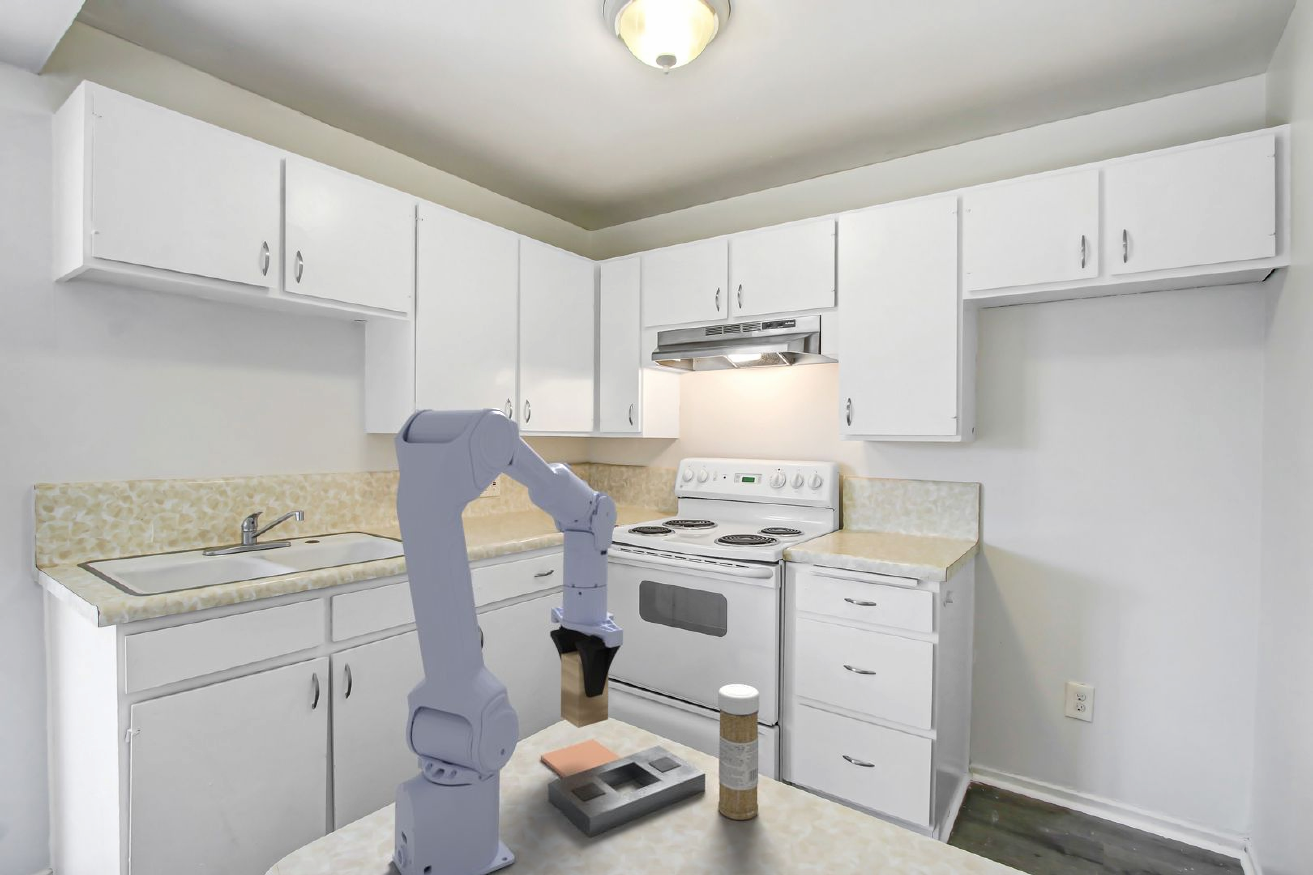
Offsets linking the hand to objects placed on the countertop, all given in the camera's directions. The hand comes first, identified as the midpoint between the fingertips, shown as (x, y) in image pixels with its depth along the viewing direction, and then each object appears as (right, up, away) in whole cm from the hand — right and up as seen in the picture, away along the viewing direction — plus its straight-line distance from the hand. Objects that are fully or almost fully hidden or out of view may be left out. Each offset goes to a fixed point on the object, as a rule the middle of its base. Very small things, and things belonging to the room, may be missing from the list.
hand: (584, 689), depth 85 cm
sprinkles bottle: (+18, -10, -11) cm, 24 cm away
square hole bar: (+6, -9, -8) cm, 14 cm away
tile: (0, -9, 0) cm, 9 cm away
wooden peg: (0, -4, 0) cm, 4 cm away
